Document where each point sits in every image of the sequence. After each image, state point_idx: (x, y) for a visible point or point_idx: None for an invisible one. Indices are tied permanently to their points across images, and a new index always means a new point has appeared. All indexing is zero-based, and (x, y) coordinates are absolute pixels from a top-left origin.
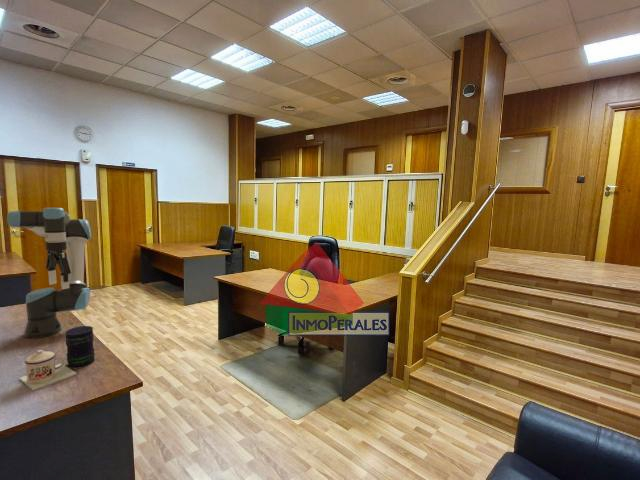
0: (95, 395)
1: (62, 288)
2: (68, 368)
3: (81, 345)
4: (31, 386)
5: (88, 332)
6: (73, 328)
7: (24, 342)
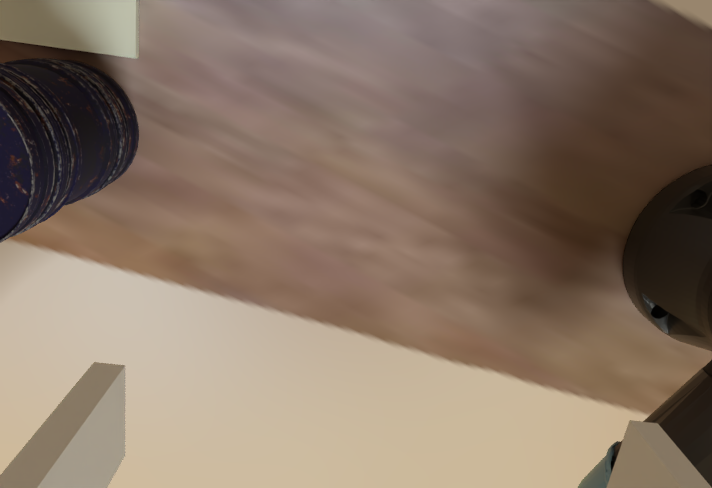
0: None
1: (85, 373)
2: (30, 40)
3: None
4: None
5: None
6: (28, 165)
7: (670, 120)
